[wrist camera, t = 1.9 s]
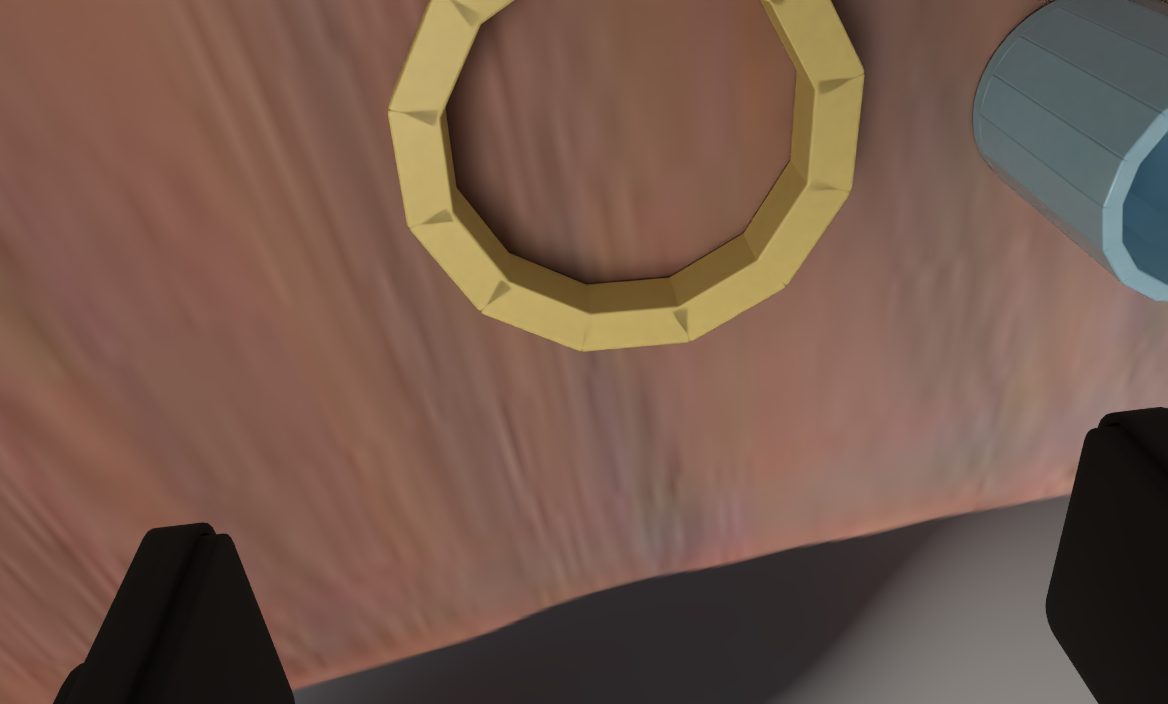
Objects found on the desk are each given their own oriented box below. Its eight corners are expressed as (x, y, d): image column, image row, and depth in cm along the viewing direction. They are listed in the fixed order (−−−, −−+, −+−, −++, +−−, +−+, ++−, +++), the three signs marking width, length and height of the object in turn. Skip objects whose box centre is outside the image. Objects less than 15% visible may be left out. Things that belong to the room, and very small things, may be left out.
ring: (434, 332, 31) (431, 365, 30) (363, -96, 24) (352, -85, 23) (820, 300, 32) (837, 330, 30) (861, -131, 25) (887, -123, 23)
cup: (930, 139, 29) (1050, 246, 23) (1068, -52, 26) (1247, 10, 20) (1075, 217, 31) (1221, 336, 25) (1218, 46, 28) (1424, 131, 22)
